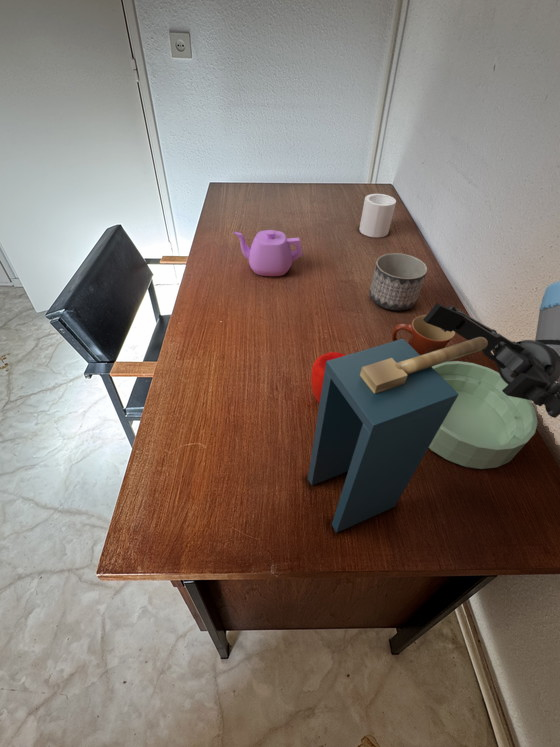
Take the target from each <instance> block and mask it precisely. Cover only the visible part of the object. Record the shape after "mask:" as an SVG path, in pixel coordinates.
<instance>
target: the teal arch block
mask: <svg viewBox="0 0 560 747" xmlns="http://www.w3.org/2000/svg"><path fill="white" fill-rule="evenodd" d="M345 355H346V356H342V357H339V358H336V359H332V360H329V361H326V366H325V373H324V379H323V385H322V392H321V398H320V403H318V411H317V417H316V422H315V423H316V424H315V431H314V436H313V441H312V443H313V444H312V448H311V455H310V462H309V469H308V475H307V480H308V482H309V484H310V485H311V486H315V485H317V484H320V483H322V482H324V481H328V480H330V479H331V478H334V477H337V476H339V475H342V474H344V473H347V474H346V477H345V480H344V483H343V487H342V490H341V493H340V496H339V498H338V503H337V506H336V509H335V513H334V516H333V519H332V521H331V522H332V523H331V526H332V527H333V528H332V529H334V532H335V533H340V532H342V531H344V530H346V529H349V528H351V527H353V526H355V525H357V524H359V523H362V522H364V521H366V520H369V519H371V518H372V517H376V516H377V515H380V514H381V513H384V512H386V511H389V510H391V509H392V508H395V507H396V505H397V504H398V502H399V500H400V498H401V497H402V495H403V493H404V492H405V490H406V488H407V486H408V484H409V483H410V481H411V479H412V478H413V475H414V474H415V472H416V471H417V469H418V467H419V465H420V464H421V462H422V460H423V458H424V456H425V454H426V453H427V451H428V449H430V448H429V446H430V444H431V442H432V441H433V439H434V437H435V435H436V434H437V432H438V430H439V428H440V427H441V425H442V423H443V421H444V419H445V418H446V416H447V414H448V412H449V411H450V409H451V407H452V405H453V404H454V402H455V400H456V399H457V397H458V395H459V394H458V393H457V392H456V391H455V390H454V389H453V388H452V387H451V386H450V385H449V384H448V383H447V382H446V381H445V380H444V379H443V378H442V377H441V376H440V375H439V374H438V373H437V372H436V371H435V370H434V369H433V368H432V367H429V368H426V369H423V370H420V371H417V372H414V373H411V374H408V376H407V379H406V381H405V384H402V385H399V386H396V387H393V388H390V389H387V390H384V391H382V392H379V393H376V394H374V393H373V391H372V390H371V389H370V388H369V386H368V385H367V384H366V383H365V381H364V380H363V379H362V378H361V376H360V373H361V369H362V367H364V366H367V365H370V364H373V363H377V362H380V361H383V360H386V359H390V358H393V360H394V361H395V362H396V363H398V362H401V361H405V360H408V359H411V358H414V357H417V356H420V355H419V354H418V353H417V352H416V351H415V350H414V349H413V348H412V347H411V346H410V345H409V344H408V341H406V340H405V338H401V339H397V341H393V340H392V341H390V342H386V343H383V344H380V345H376V346H374V347H370V348H367V349H363V350H360V351H356V352H353V353H349V354H345Z"/></svg>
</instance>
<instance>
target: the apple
mask: <svg viewBox="0 0 560 747" xmlns="http://www.w3.org/2000/svg"><path fill="white" fill-rule="evenodd" d="M346 355H347V354H344V353H342V352H336V351H331V352H325V353H324V354H322V355H320V356H318V357H317V359H316V360H315V361H314V363H313V364H312V367H311V368H312V370H311V374H310V381H311V389H312V393H313V396H314V398H315V400H316V401H317V402H318V403H317V404H320V398H321V392H322V385H323V379H324V373H325V366H326V361H329V360H332V359H336V358H339V357H342V356H346Z"/></svg>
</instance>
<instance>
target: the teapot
mask: <svg viewBox="0 0 560 747" xmlns="http://www.w3.org/2000/svg"><path fill="white" fill-rule="evenodd" d="M232 233H233V234H235V236H237V238H238V241H239V244H240V250H241V254H242V256H243V257H244V258H245V259H247V260H248V264H249V267H250V269H251V270H252V271H253V272H254V273H255V274H256V275H259V276H262V277H280V276H284V275H286V273H288V272H289V270H290V268H291V267H292V265H293V262H295V261H296V260H298V259H299V258H300V257H302V256H303V255H304V254H303V249H302V244H301V239H300V237H290V238H287V236H286V233H285V232H283V231H280V230H274V229H266V230H260V231H258V232H257V233H256V234H255V236H254V239H253V241H252V242H251V244H250V245H251V246H248V244H247V242H246V238H245V236H244V234H243V233H241V232H239V231H235V230H234V231H232ZM293 245H295V250H294V251H293V250H292V247H291V246H293Z"/></svg>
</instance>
